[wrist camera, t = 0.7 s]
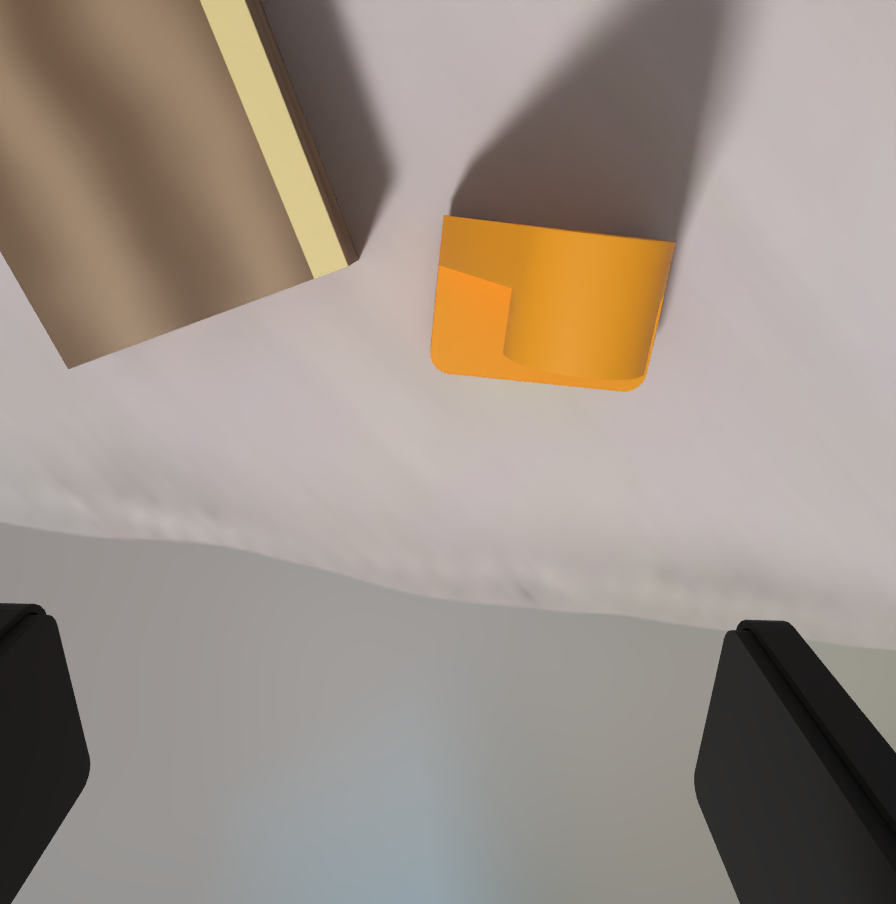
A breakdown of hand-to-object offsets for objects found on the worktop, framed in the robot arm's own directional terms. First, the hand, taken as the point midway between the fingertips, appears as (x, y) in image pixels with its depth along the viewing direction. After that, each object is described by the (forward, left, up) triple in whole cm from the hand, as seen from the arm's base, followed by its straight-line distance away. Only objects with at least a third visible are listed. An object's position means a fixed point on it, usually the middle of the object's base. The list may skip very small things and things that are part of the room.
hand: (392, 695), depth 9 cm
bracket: (-6, 0, -26) cm, 27 cm away
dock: (+9, -12, -26) cm, 30 cm away
